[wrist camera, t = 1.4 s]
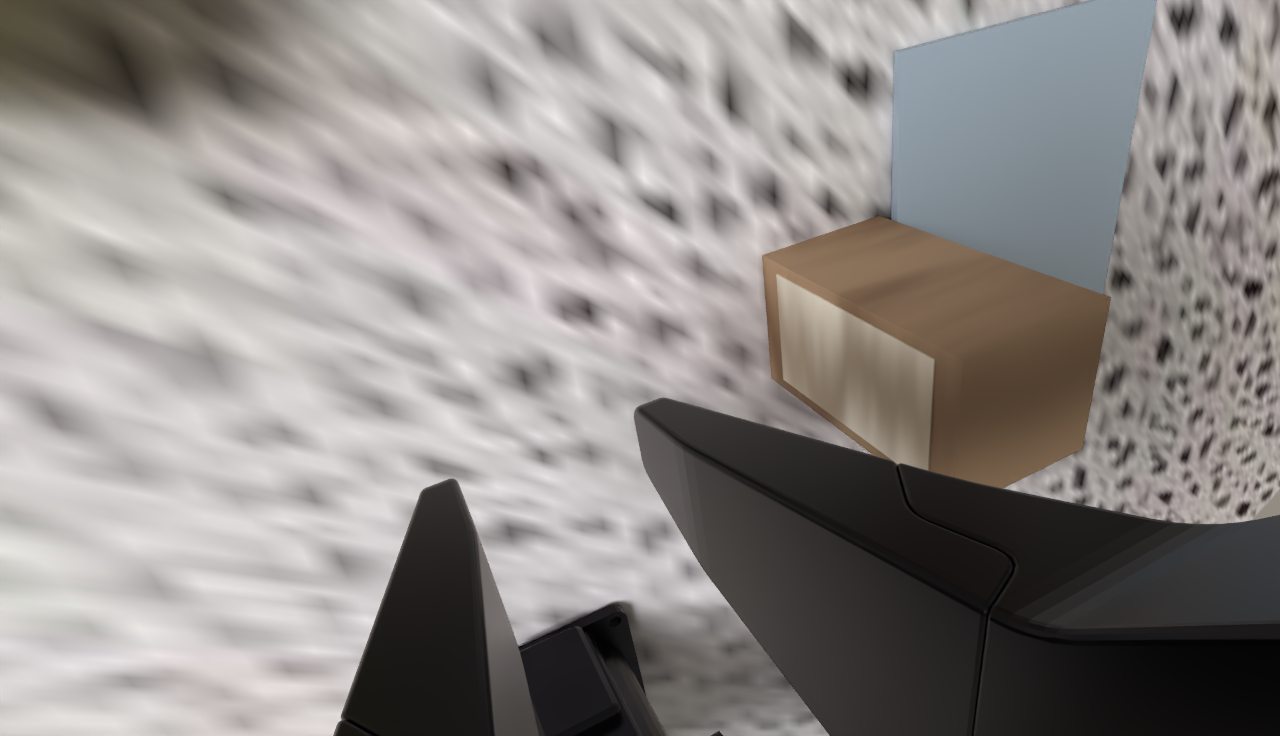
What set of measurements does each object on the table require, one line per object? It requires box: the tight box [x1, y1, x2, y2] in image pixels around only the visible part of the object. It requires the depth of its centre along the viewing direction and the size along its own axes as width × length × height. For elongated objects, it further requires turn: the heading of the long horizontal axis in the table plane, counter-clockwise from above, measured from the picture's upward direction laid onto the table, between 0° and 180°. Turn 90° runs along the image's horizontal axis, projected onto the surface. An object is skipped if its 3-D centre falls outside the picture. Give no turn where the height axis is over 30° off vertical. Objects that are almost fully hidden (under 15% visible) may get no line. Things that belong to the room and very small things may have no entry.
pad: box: [891, 0, 1157, 294], centre depth 29 cm, size 16×12×1 cm
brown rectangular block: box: [762, 216, 1111, 488], centre depth 23 cm, size 5×5×9 cm
